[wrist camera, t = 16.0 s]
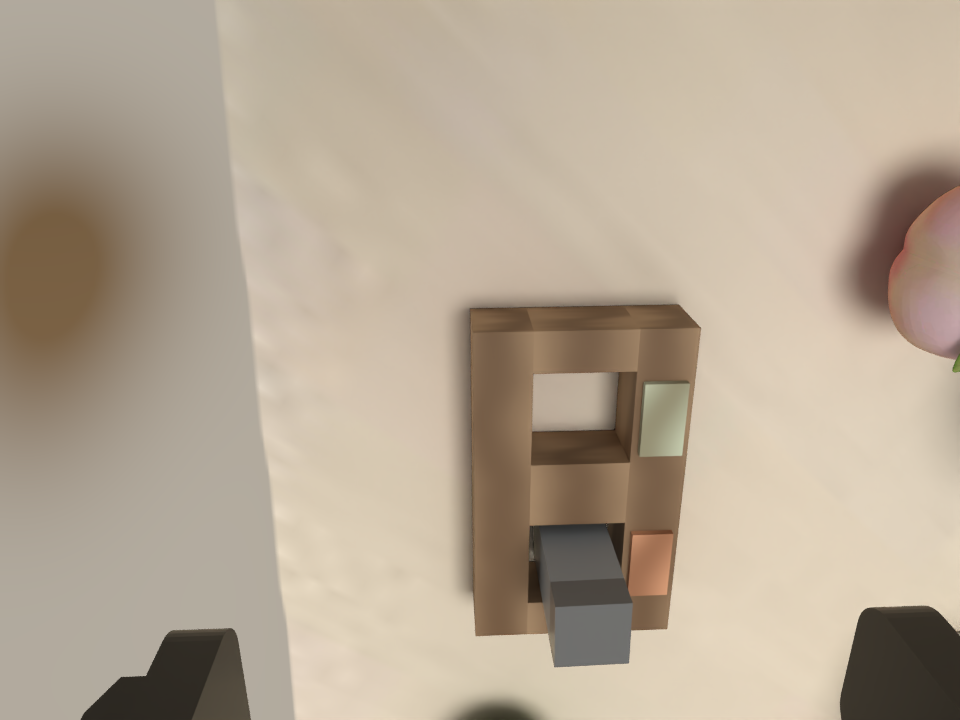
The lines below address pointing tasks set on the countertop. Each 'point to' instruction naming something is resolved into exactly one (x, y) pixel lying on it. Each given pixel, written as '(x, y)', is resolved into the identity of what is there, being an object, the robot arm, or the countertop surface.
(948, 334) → the decorative fruit
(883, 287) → the countertop surface
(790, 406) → the countertop surface
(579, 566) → the plug
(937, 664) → the robot arm
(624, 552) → the socket block
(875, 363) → the countertop surface
